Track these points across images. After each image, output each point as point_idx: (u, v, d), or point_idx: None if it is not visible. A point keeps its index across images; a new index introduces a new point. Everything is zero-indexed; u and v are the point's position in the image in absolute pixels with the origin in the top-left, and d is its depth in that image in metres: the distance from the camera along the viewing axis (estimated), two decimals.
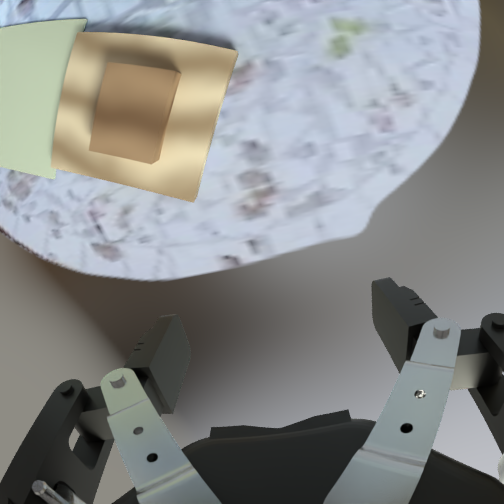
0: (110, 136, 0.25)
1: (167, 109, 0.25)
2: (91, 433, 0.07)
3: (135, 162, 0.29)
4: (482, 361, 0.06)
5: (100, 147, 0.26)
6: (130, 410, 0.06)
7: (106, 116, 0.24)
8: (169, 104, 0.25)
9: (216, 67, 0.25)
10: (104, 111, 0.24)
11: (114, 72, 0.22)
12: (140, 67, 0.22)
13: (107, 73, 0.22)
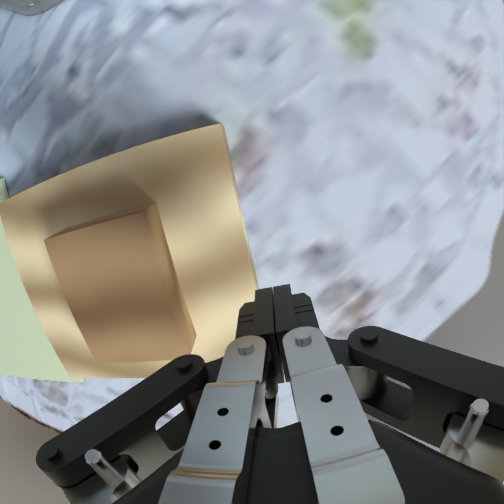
0: (112, 340, 0.17)
1: (166, 272, 0.17)
2: (194, 415, 0.08)
3: None
4: (348, 374, 0.08)
5: (108, 356, 0.18)
6: (231, 387, 0.06)
7: (90, 316, 0.17)
8: (165, 262, 0.17)
9: (202, 166, 0.16)
10: (82, 310, 0.17)
11: (60, 251, 0.15)
12: (88, 229, 0.15)
13: (53, 256, 0.15)
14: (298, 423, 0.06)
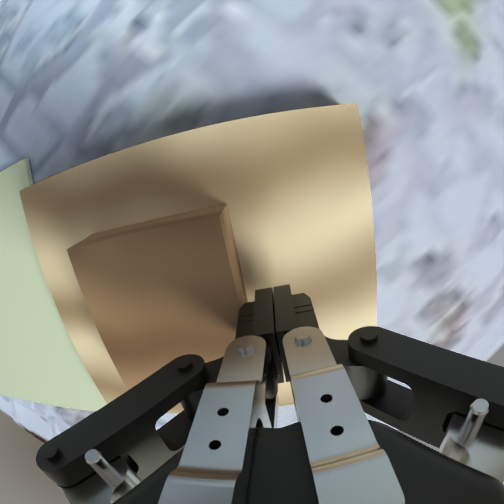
0: None
1: (241, 295, 0.13)
2: (194, 415, 0.08)
3: None
4: (348, 374, 0.08)
5: None
6: (230, 387, 0.06)
7: (131, 351, 0.13)
8: (239, 282, 0.13)
9: (335, 153, 0.12)
10: (120, 343, 0.13)
11: (91, 266, 0.12)
12: (136, 237, 0.11)
13: (80, 272, 0.12)
14: (298, 423, 0.06)
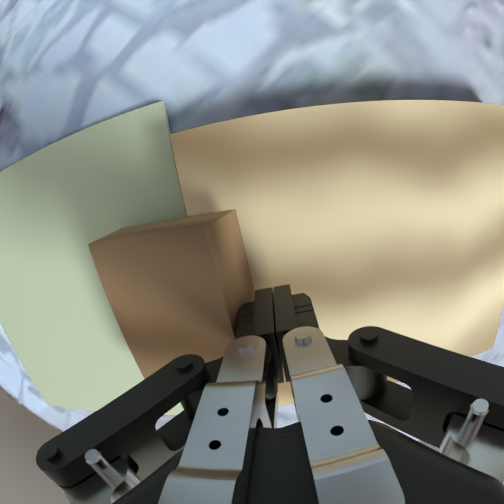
0: None
1: None
2: (194, 415, 0.08)
3: None
4: (348, 374, 0.08)
5: None
6: (231, 387, 0.06)
7: (141, 341, 0.14)
8: (240, 293, 0.12)
9: (496, 142, 0.11)
10: (133, 332, 0.14)
11: (106, 261, 0.13)
12: (137, 240, 0.12)
13: (99, 265, 0.14)
14: (298, 423, 0.06)
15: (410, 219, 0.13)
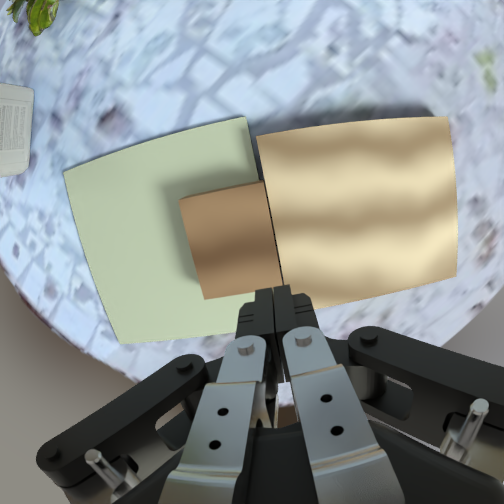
0: (224, 277, 0.26)
1: (271, 224, 0.26)
2: (194, 415, 0.08)
3: (399, 265, 0.26)
4: (348, 374, 0.08)
5: (217, 292, 0.27)
6: (230, 387, 0.06)
7: (209, 258, 0.26)
8: (270, 218, 0.26)
9: (439, 139, 0.22)
10: (203, 254, 0.26)
11: (193, 208, 0.24)
12: (221, 192, 0.24)
13: (185, 212, 0.25)
14: (298, 423, 0.06)
15: (386, 184, 0.24)
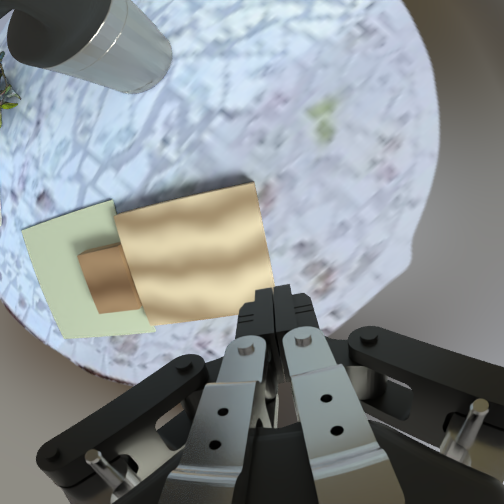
0: (106, 301, 0.39)
1: (129, 270, 0.38)
2: (194, 415, 0.08)
3: (220, 298, 0.39)
4: (348, 374, 0.08)
5: (104, 309, 0.39)
6: (231, 387, 0.06)
7: (97, 290, 0.38)
8: None
9: (245, 203, 0.35)
10: (93, 287, 0.38)
11: (84, 261, 0.37)
12: (97, 252, 0.36)
13: (81, 263, 0.37)
14: (298, 423, 0.06)
15: (199, 243, 0.37)
